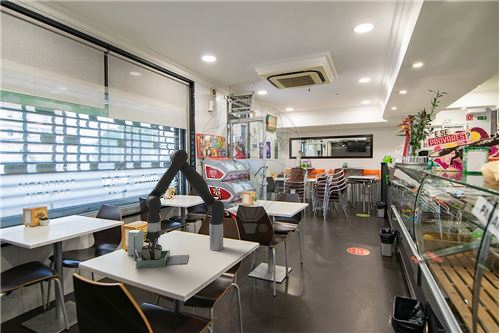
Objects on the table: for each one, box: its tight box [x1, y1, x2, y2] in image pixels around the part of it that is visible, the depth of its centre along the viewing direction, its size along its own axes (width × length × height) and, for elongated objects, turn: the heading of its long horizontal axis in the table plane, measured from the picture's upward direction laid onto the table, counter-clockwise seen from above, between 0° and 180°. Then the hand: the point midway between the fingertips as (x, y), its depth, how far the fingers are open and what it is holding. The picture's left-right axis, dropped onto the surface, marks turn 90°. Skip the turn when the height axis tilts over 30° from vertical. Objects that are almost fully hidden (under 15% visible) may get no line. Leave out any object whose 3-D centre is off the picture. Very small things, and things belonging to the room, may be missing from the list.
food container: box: [141, 243, 164, 260], centre depth 155 cm, size 12×6×10 cm, turn 84°
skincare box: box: [127, 229, 145, 256], centre depth 170 cm, size 8×6×15 cm
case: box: [133, 228, 171, 269], centre depth 155 cm, size 17×16×18 cm
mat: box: [166, 254, 190, 266], centre depth 158 cm, size 11×14×1 cm
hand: (153, 256), depth 155 cm, fingers open, 8 cm apart
